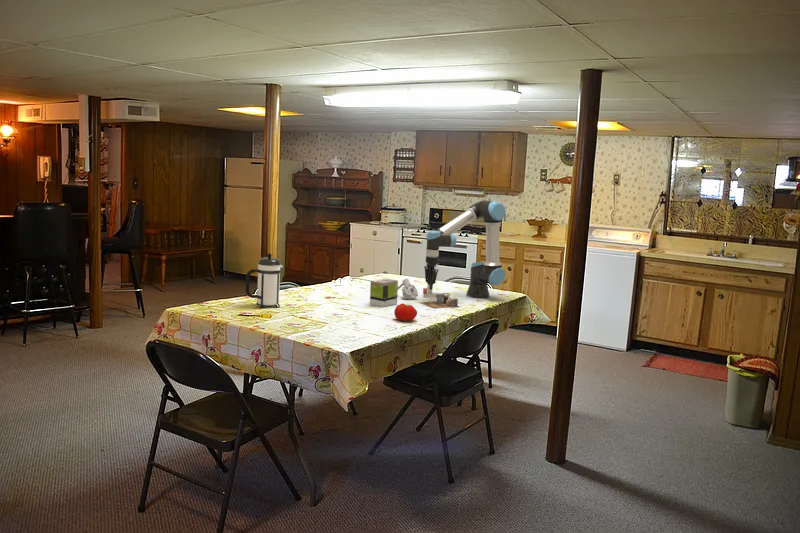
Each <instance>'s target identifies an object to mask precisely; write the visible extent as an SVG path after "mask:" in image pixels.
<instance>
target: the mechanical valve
mask: <svg viewBox="0 0 800 533" xmlns="http://www.w3.org/2000/svg"><path fill="white" fill-rule="evenodd" d="M399 289H401V291H402V297H404V299H405V300H410V301H414V300H415V299H416V298H417V297H418V296H419V292H418V290H417V288H416V286H415V285H414V284H411V282H410V280H409V278H404V279H402V282H401V284H399V285H398V290H399Z"/></svg>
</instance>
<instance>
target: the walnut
mask: <svg viewBox="0 0 800 533" xmlns="http://www.w3.org/2000/svg"><path fill="white" fill-rule="evenodd" d="M446 304H447V305H448V306H450V305H451V298H448V300H446Z"/></svg>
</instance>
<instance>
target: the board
mask: <svg viewBox="0 0 800 533" xmlns="http://www.w3.org/2000/svg"><path fill="white" fill-rule="evenodd" d="M448 299H449V298H443V301H442V303H437V300H435V301H422V302H421V301H418V302H417V303H418V304H420V305H422V306H426V307H429V308H430V309H433V310H434V309H435V310H436V309H450V308H451V309H453V308H461V306H460V305H459V304H458V303H459V302H458V300H459V299H458V298H452V299H451V298H450V299H451V305H450V306H448V305H447V304H446V300H448Z"/></svg>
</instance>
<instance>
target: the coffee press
mask: <svg viewBox="0 0 800 533" xmlns="http://www.w3.org/2000/svg"><path fill="white" fill-rule="evenodd" d="M272 256H273V255H272V253H270V252H269V253H267V256H266V257H265V256H264V257H261V258H260V259H258V261H257V269H255V268H252V269H250V270H249V271H248V272H247V273H246V276H245V293H246V296H247V297H249V298H252V299H257V300H256V301H257V302H255V304H256V305H257V306H259V309H263V308H264V307H265V306H275V307H276V308H277V309H280V308H281V305H280V287H281V286H280V283H281V281H280V280H281V268H282V269H283V268H284V266H283V265H282V262H281V261H280V259H279V258H277V257H272ZM254 273H257V294H252V293H250V276H251V274H254Z"/></svg>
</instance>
